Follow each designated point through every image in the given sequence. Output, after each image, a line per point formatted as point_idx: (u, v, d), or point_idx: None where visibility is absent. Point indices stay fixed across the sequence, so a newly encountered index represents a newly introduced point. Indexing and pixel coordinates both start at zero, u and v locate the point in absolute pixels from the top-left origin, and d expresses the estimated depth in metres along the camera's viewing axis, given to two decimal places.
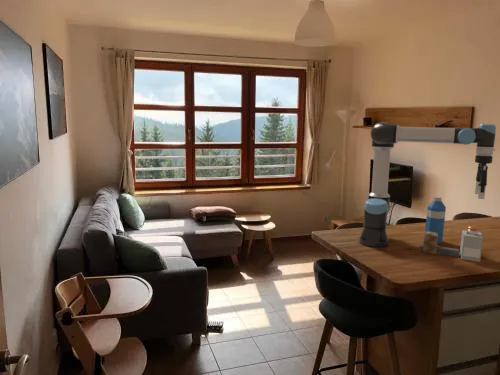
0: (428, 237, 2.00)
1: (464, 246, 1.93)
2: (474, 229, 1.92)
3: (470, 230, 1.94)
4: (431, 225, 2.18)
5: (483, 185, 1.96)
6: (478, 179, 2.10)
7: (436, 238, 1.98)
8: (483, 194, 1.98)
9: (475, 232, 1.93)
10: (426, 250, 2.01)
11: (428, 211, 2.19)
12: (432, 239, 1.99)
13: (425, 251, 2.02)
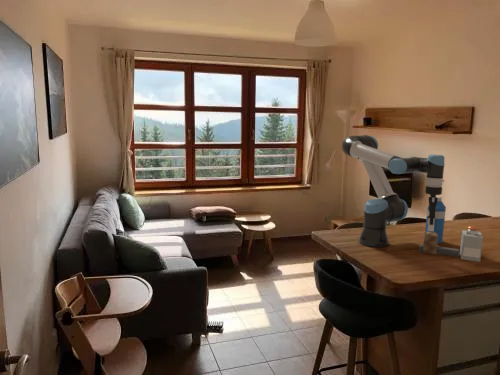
0: (428, 237, 2.00)
1: (464, 246, 1.93)
2: (474, 229, 1.92)
3: (470, 230, 1.94)
4: None
5: (432, 217, 1.92)
6: None
7: (436, 238, 1.98)
8: (432, 226, 1.95)
9: (475, 232, 1.93)
10: (426, 250, 2.01)
11: (428, 211, 2.19)
12: (432, 239, 1.99)
13: (425, 251, 2.02)
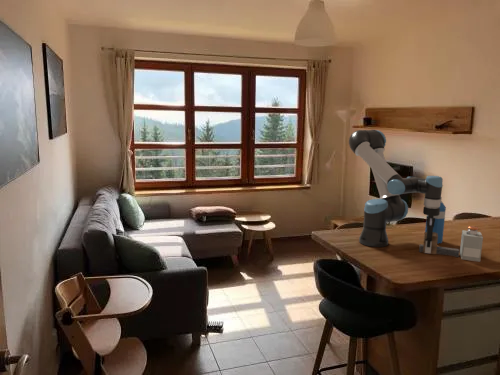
0: None
1: (464, 246, 1.93)
2: (474, 229, 1.92)
3: (470, 230, 1.94)
4: None
5: None
6: None
7: (436, 238, 1.98)
8: (429, 249, 2.00)
9: (475, 232, 1.93)
10: None
11: None
12: (432, 239, 1.99)
13: None
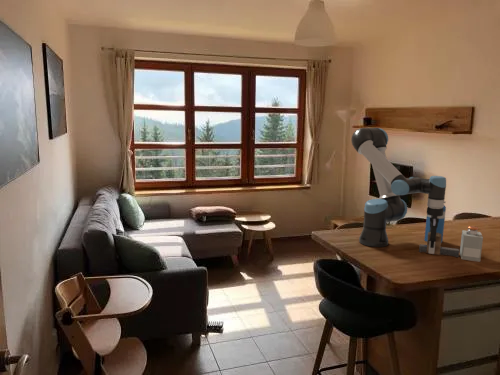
0: None
1: (464, 246, 1.93)
2: (474, 229, 1.92)
3: (470, 230, 1.94)
4: None
5: (432, 240, 1.97)
6: None
7: (440, 238, 1.98)
8: (433, 249, 1.99)
9: (475, 232, 1.93)
10: None
11: None
12: (436, 239, 1.99)
13: None
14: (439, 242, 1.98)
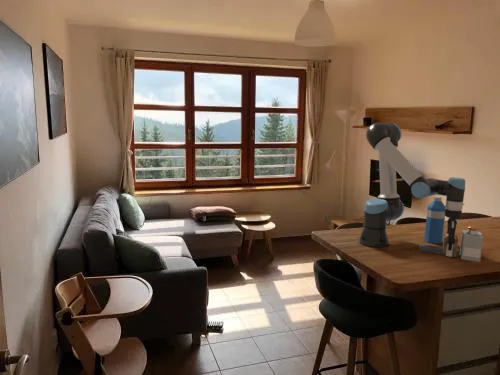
0: None
1: (464, 246, 1.93)
2: (474, 229, 1.92)
3: (470, 230, 1.94)
4: (431, 225, 2.18)
5: None
6: None
7: (456, 240, 1.95)
8: (451, 252, 1.96)
9: (475, 232, 1.93)
10: (445, 253, 1.98)
11: (428, 211, 2.19)
12: None
13: (444, 253, 1.98)
14: (455, 244, 1.95)
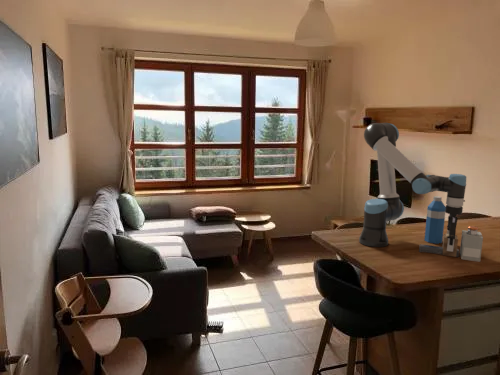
0: None
1: (464, 246, 1.93)
2: (474, 229, 1.92)
3: (470, 230, 1.94)
4: (431, 225, 2.18)
5: (452, 238, 1.90)
6: (449, 228, 2.05)
7: (456, 240, 1.95)
8: (452, 247, 1.93)
9: (475, 232, 1.93)
10: (445, 253, 1.98)
11: (428, 211, 2.19)
12: None
13: (444, 253, 1.98)
14: (455, 244, 1.95)
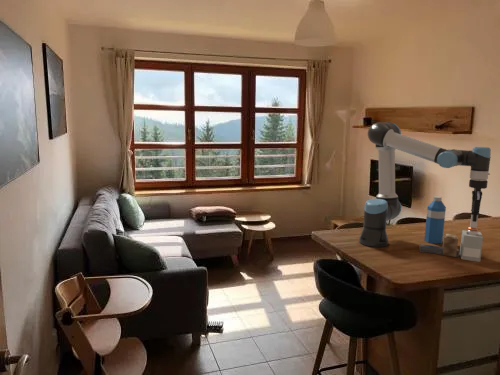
0: (448, 239, 1.96)
1: (464, 246, 1.93)
2: (474, 230, 1.92)
3: (470, 231, 1.94)
4: (431, 225, 2.18)
5: None
6: None
7: (456, 240, 1.95)
8: (475, 223, 1.93)
9: (475, 233, 1.93)
10: (445, 253, 1.98)
11: (428, 211, 2.19)
12: (452, 241, 1.96)
13: (444, 253, 1.98)
14: (455, 244, 1.95)
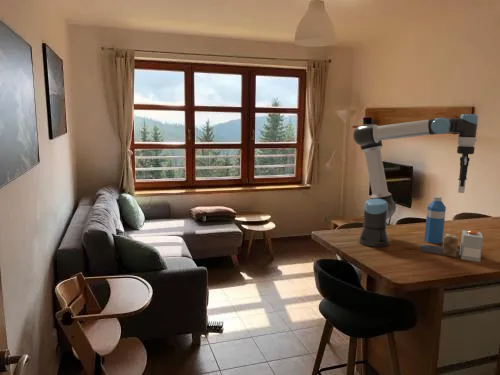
0: (448, 239, 1.96)
1: (464, 246, 1.93)
2: (474, 233, 1.93)
3: (470, 234, 1.94)
4: (431, 225, 2.18)
5: None
6: None
7: (456, 240, 1.95)
8: (463, 188, 2.01)
9: None
10: (445, 253, 1.98)
11: (428, 211, 2.19)
12: (452, 241, 1.96)
13: (444, 253, 1.98)
14: (455, 244, 1.95)
